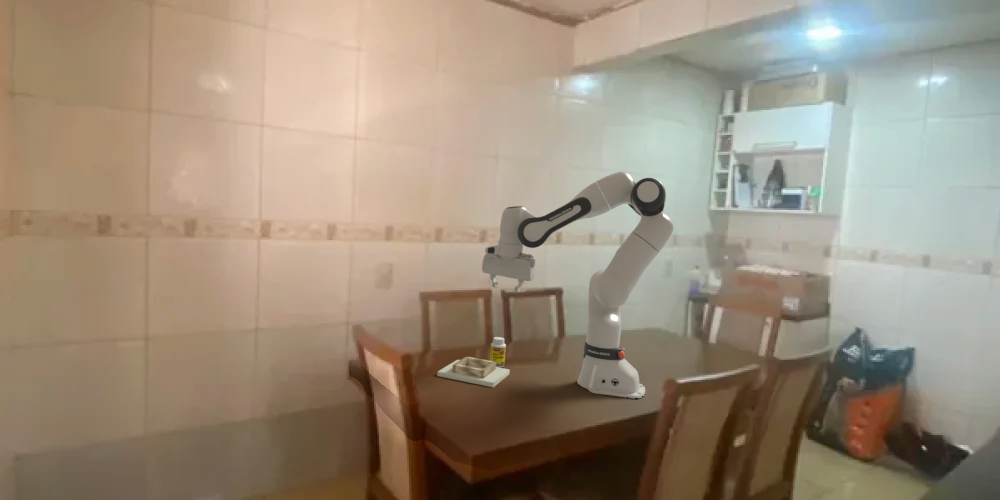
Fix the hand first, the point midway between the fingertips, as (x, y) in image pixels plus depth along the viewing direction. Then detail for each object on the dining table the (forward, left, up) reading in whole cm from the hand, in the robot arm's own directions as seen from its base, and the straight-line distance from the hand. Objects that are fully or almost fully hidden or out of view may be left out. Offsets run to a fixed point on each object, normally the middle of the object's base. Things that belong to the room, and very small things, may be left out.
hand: (505, 289), depth 192 cm
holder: (+4, +14, -28) cm, 32 cm away
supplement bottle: (+1, 0, -28) cm, 28 cm away
